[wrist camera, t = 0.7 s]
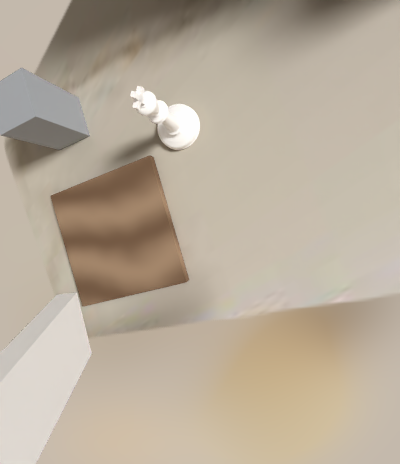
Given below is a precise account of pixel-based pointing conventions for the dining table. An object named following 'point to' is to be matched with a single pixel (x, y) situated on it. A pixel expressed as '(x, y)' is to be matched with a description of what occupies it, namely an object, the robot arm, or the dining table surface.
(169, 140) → the chess piece
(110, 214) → the walnut pad
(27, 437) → the robot arm
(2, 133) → the slate block
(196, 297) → the dining table surface
